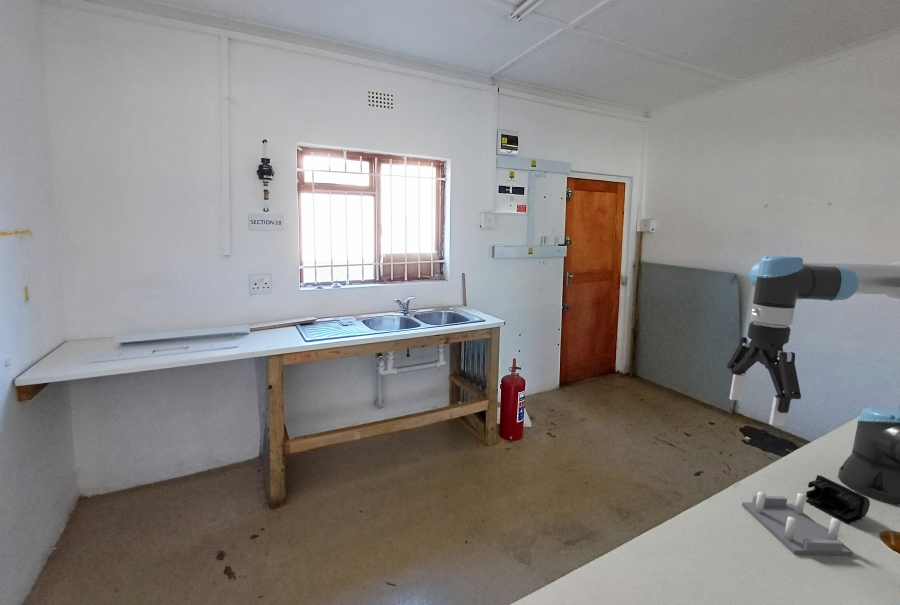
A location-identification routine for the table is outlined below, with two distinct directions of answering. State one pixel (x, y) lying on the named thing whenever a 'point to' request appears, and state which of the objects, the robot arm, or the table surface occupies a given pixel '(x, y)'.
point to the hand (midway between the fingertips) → (754, 411)
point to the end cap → (837, 500)
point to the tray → (796, 526)
